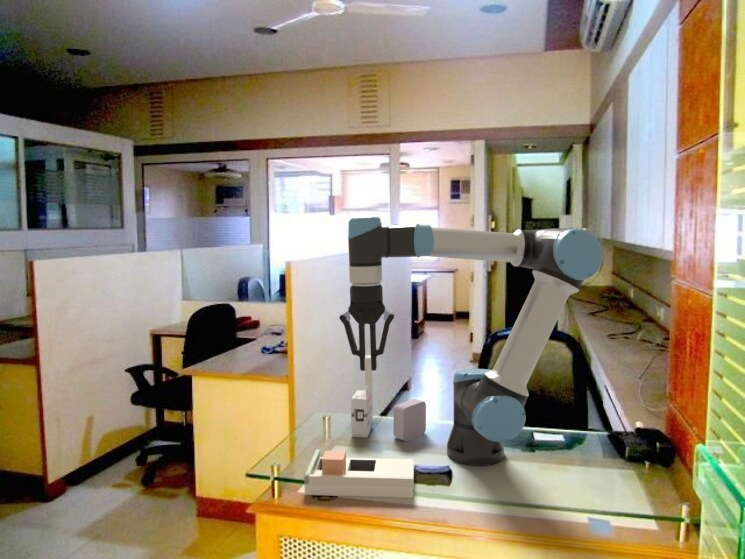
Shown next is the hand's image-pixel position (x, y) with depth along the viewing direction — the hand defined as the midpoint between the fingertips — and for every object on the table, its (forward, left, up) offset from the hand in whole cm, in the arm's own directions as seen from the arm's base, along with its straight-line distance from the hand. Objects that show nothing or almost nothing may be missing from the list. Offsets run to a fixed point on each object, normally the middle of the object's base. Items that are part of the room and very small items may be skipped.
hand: (368, 383), depth 128 cm
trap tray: (+2, -1, -25) cm, 25 cm away
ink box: (+5, -33, -25) cm, 42 cm away
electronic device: (-9, -31, -25) cm, 41 cm away
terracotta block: (+8, +1, -22) cm, 24 cm away
